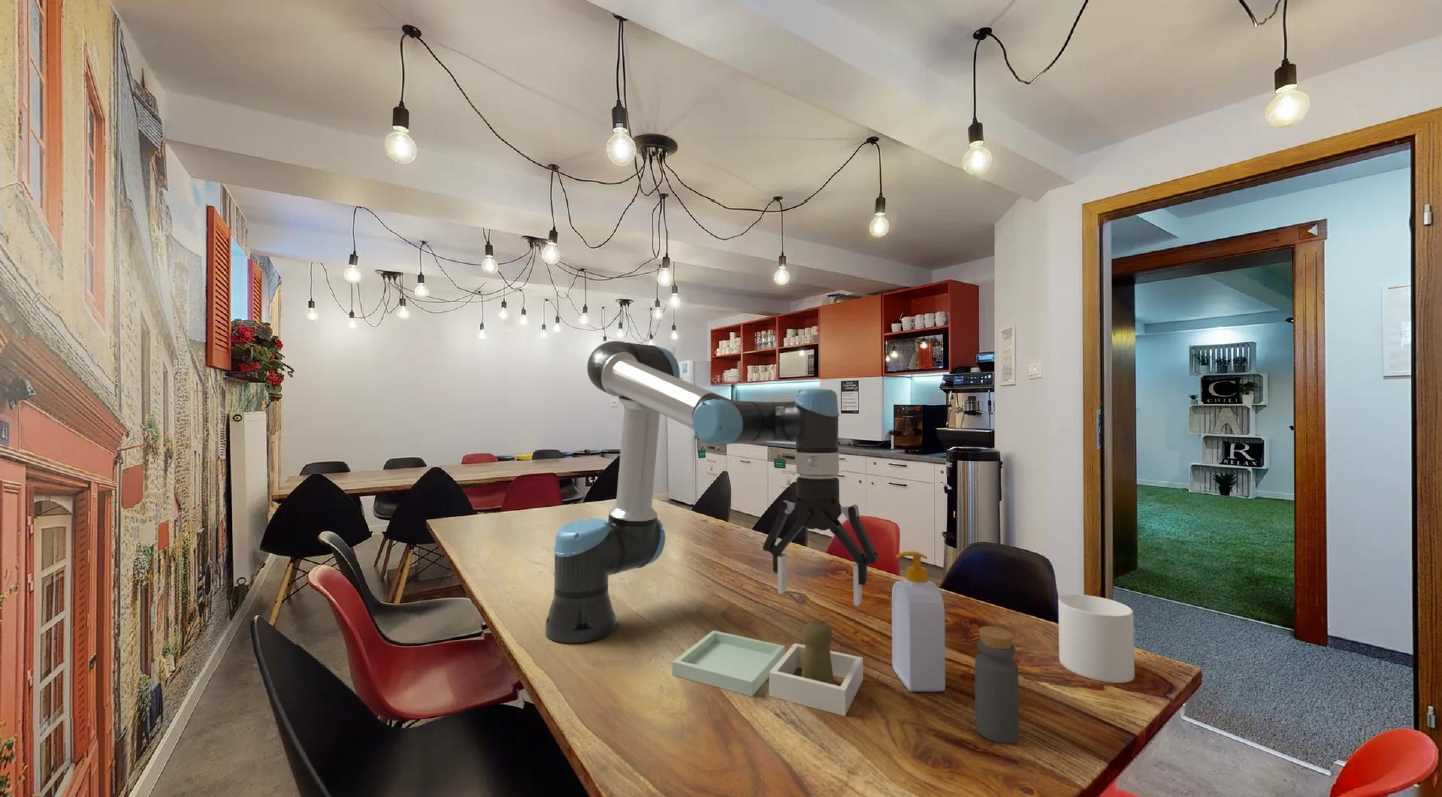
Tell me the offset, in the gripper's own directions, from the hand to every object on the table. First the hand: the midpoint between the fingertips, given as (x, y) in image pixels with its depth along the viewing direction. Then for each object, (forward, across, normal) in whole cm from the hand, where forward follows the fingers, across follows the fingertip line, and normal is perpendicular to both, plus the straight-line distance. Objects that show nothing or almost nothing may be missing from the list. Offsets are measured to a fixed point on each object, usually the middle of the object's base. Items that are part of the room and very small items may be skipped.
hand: (818, 597), depth 93 cm
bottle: (+16, +28, 0) cm, 32 cm away
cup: (+16, +44, +32) cm, 57 cm away
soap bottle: (+16, +14, +11) cm, 24 cm away
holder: (+16, 0, 0) cm, 16 cm away
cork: (+16, 0, 0) cm, 16 cm away
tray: (+16, -18, 0) cm, 23 cm away
